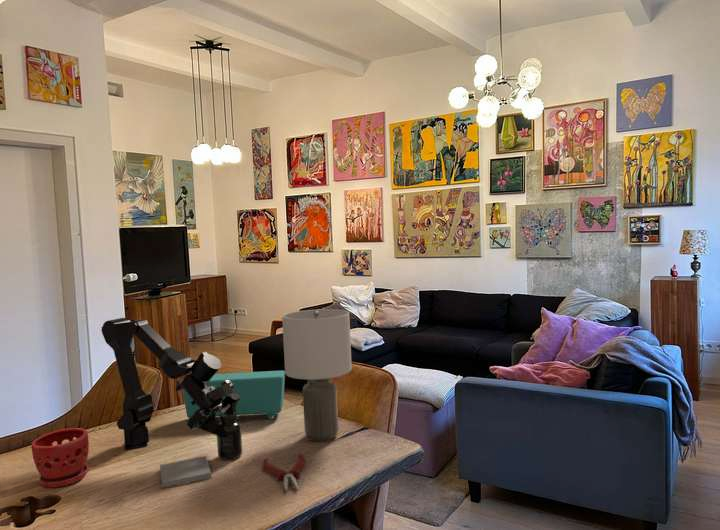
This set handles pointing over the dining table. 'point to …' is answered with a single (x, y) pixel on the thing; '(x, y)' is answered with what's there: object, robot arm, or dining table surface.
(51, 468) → the plant pot
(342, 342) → the lamp
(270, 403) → the teal foam block
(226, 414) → the supplement bottle
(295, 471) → the pliers
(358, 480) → the dining table surface
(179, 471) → the grey flat square slab
